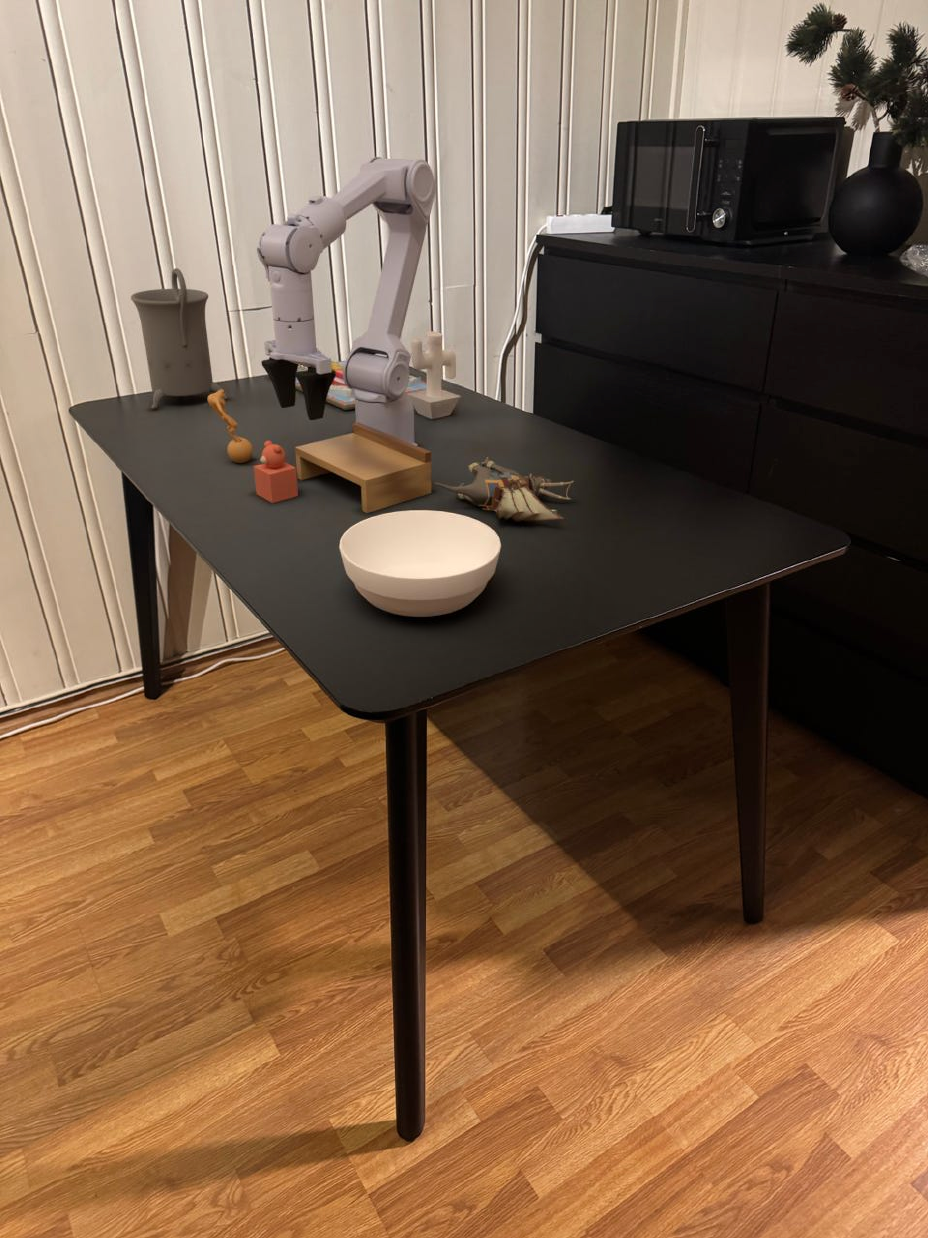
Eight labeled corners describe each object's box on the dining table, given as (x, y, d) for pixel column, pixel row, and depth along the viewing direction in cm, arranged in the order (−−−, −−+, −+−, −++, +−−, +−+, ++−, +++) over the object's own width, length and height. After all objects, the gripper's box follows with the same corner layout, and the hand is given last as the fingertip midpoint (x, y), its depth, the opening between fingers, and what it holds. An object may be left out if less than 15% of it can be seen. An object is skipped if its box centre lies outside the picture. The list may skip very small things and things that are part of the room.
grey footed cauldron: (134, 393, 172) (111, 258, 160) (208, 384, 179) (191, 254, 167) (160, 419, 159) (137, 273, 146) (238, 407, 165) (222, 268, 153)
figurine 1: (259, 468, 137) (251, 393, 131) (221, 473, 135) (211, 397, 129) (248, 452, 144) (240, 379, 138) (211, 457, 142) (201, 383, 136)
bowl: (428, 549, 113) (428, 498, 109) (531, 601, 101) (534, 545, 98) (311, 594, 102) (306, 538, 98) (411, 657, 91) (410, 596, 87)
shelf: (360, 461, 141) (358, 422, 138) (431, 493, 130) (431, 451, 127) (297, 478, 134) (294, 437, 131) (367, 513, 123) (365, 469, 120)
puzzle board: (441, 392, 177) (441, 379, 176) (345, 412, 164) (344, 398, 163) (359, 362, 197) (358, 350, 196) (268, 377, 184) (267, 365, 183)
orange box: (282, 487, 131) (277, 435, 127) (298, 495, 128) (294, 443, 124) (256, 494, 128) (251, 442, 124) (272, 503, 125) (267, 450, 121)
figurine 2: (465, 414, 164) (466, 332, 157) (425, 423, 159) (425, 339, 152) (441, 405, 169) (442, 325, 162) (402, 413, 164) (401, 332, 156)
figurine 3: (543, 449, 132) (608, 488, 119) (538, 487, 135) (601, 529, 122) (424, 460, 123) (480, 503, 110) (421, 500, 126) (476, 547, 113)
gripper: (242, 313, 125) (252, 406, 131) (298, 330, 115) (306, 429, 122) (284, 307, 129) (292, 397, 136) (341, 323, 119) (346, 419, 126)
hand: (301, 412), depth 129 cm, fingers open, 7 cm apart
